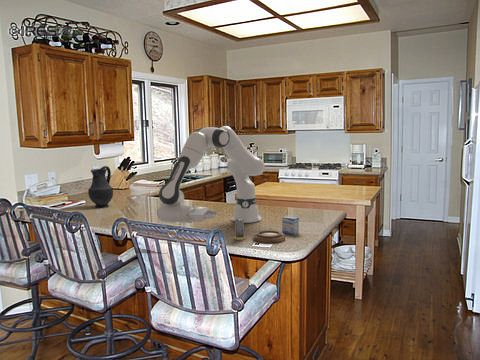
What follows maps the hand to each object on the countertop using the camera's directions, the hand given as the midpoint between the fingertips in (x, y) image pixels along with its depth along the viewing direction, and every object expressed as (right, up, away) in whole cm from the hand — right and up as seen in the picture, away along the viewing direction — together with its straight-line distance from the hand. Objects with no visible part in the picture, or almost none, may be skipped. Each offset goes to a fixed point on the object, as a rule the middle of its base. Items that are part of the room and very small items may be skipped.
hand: (215, 214), depth 206 cm
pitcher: (-90, -2, +99) cm, 134 cm away
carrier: (+27, -12, -1) cm, 30 cm away
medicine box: (+40, -11, +10) cm, 42 cm away
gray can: (+13, -12, +1) cm, 18 cm away
